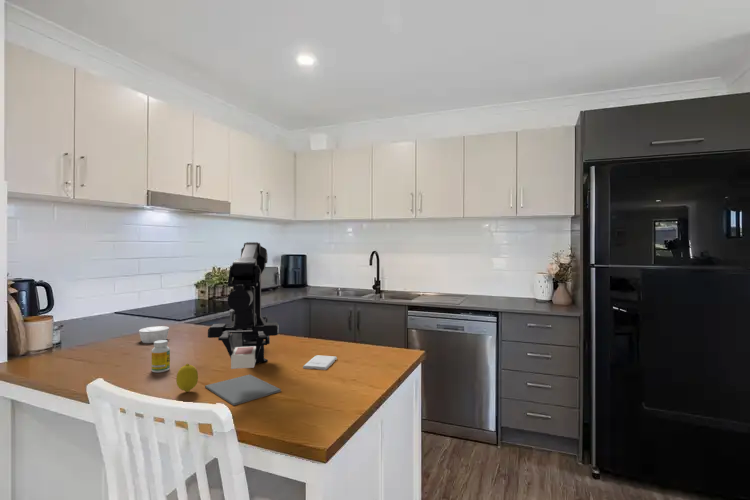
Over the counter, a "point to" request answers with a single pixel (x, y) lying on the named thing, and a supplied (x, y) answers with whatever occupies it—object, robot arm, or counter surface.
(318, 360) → the external hard drive
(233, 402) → the mat
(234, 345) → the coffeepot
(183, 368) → the lemon
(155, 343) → the supplement bottle
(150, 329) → the ramekin
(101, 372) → the counter surface
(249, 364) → the card box
